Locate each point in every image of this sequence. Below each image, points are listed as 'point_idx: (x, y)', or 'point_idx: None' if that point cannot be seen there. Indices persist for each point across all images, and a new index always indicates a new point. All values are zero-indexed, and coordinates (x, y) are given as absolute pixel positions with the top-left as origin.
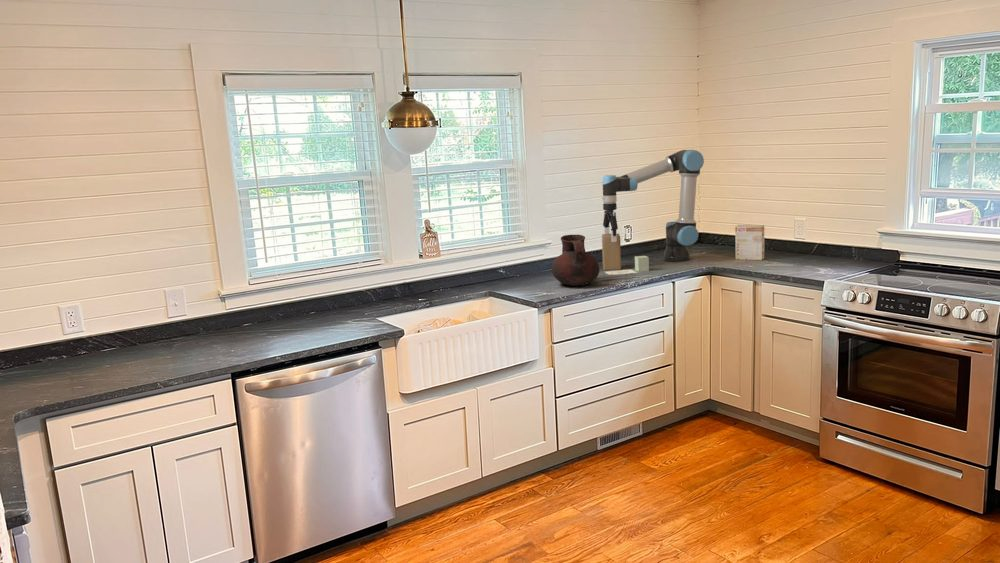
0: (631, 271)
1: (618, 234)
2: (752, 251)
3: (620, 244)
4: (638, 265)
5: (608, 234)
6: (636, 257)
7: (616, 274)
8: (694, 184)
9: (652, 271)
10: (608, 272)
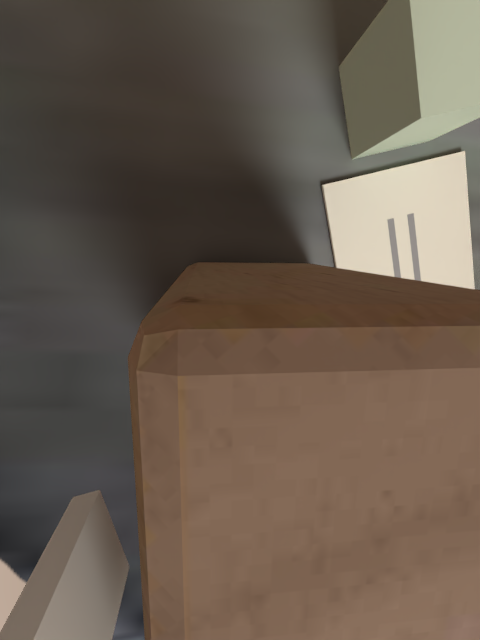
0: (408, 194)
1: (413, 352)
2: None
3: (429, 282)
4: (469, 121)
5: (326, 614)
6: (477, 105)
7: None
8: None
9: None
10: None
